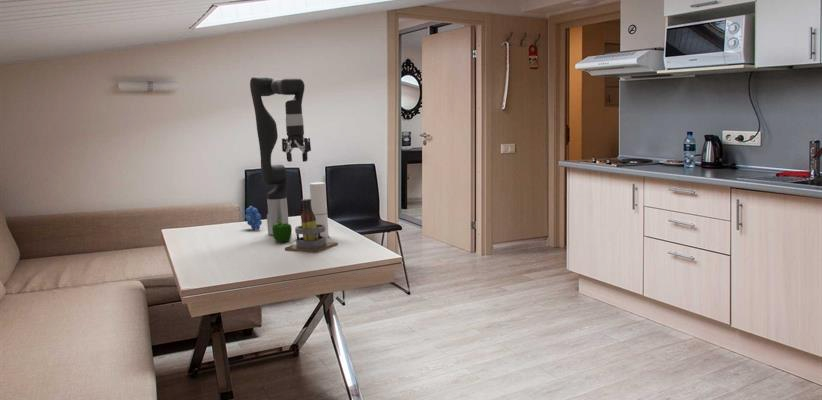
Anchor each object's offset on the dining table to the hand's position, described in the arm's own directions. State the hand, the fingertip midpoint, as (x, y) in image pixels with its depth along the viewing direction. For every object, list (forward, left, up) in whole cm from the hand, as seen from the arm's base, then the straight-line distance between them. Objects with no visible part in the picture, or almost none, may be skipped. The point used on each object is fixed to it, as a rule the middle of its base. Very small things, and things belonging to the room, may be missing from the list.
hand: (297, 161), depth 280 cm
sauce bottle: (+12, -9, -35) cm, 38 cm away
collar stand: (+12, -9, -36) cm, 39 cm away
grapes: (-45, +16, -36) cm, 60 cm away
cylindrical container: (+1, +12, -36) cm, 38 cm away
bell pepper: (-9, -3, -36) cm, 37 cm away
